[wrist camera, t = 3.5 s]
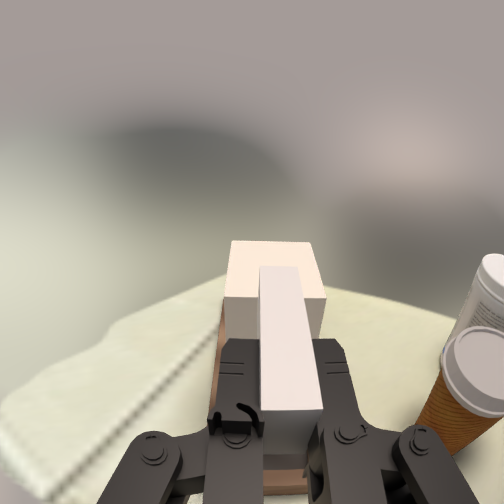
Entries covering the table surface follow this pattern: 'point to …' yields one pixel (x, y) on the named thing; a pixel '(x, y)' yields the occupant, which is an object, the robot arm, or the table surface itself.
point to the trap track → (274, 465)
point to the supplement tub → (483, 299)
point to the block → (247, 283)
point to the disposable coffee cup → (467, 388)
